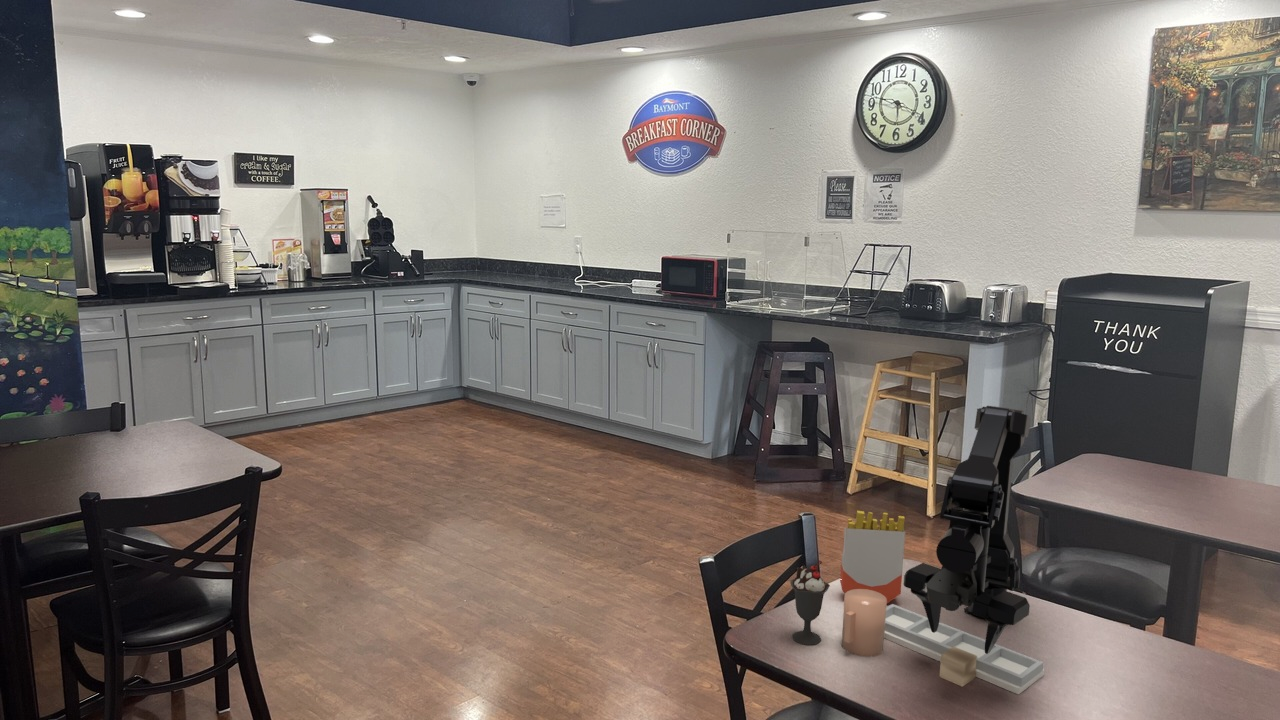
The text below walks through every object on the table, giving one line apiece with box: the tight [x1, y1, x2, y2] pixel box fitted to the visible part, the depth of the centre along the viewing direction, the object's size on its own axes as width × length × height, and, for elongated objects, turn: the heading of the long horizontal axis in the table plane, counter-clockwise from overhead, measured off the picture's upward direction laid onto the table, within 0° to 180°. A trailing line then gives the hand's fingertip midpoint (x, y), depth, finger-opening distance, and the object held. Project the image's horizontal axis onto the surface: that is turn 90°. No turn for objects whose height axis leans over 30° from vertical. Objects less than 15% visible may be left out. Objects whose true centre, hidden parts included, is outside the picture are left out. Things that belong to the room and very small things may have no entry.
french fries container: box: [839, 510, 906, 604], centre depth 174 cm, size 5×11×18 cm, turn 83°
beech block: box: [939, 647, 977, 687], centre depth 148 cm, size 4×4×4 cm
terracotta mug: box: [841, 589, 888, 658], centre depth 156 cm, size 8×7×9 cm
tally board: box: [884, 603, 1045, 695], centre depth 156 cm, size 9×28×2 cm, turn 42°
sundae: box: [789, 560, 831, 646], centre depth 159 cm, size 7×7×15 cm
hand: (960, 642), depth 147 cm, fingers open, 9 cm apart
